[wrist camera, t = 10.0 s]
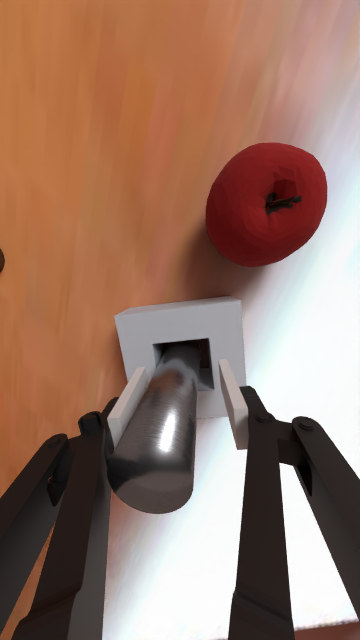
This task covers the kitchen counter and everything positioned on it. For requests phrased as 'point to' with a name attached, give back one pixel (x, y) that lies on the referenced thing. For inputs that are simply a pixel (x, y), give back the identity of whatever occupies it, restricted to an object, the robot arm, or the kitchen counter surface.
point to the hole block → (187, 324)
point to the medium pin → (1, 260)
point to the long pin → (161, 436)
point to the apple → (266, 204)
